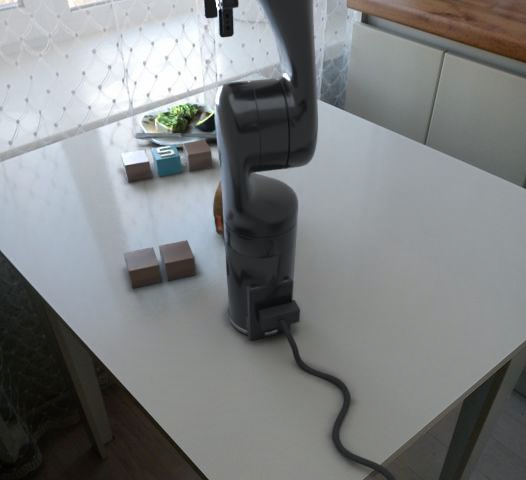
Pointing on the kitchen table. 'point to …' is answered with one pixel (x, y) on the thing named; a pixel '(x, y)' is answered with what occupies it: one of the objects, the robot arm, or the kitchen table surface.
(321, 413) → the kitchen table surface
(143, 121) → the salad plate
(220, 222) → the tin
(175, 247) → the brown wooden block pair
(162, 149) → the letter S
